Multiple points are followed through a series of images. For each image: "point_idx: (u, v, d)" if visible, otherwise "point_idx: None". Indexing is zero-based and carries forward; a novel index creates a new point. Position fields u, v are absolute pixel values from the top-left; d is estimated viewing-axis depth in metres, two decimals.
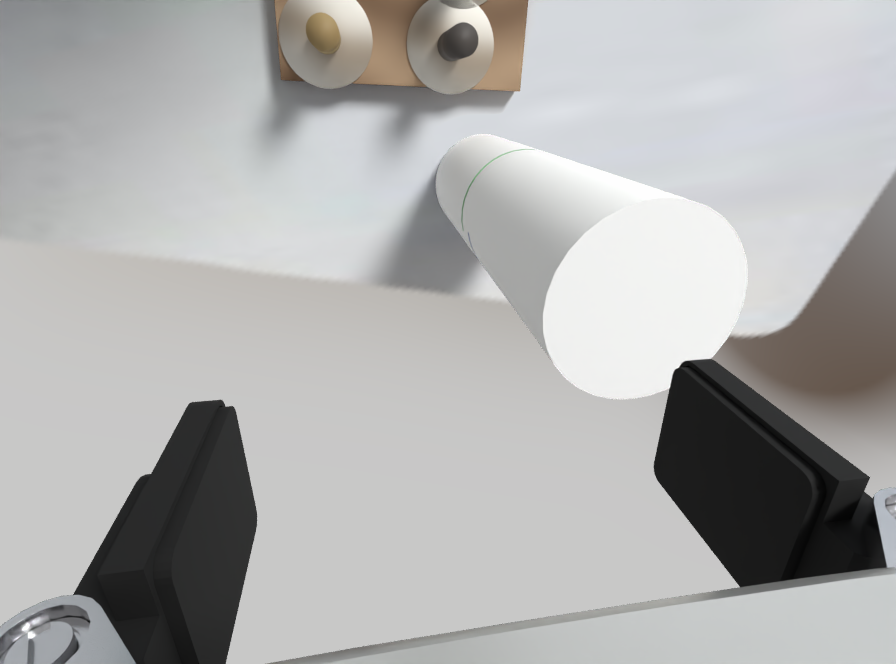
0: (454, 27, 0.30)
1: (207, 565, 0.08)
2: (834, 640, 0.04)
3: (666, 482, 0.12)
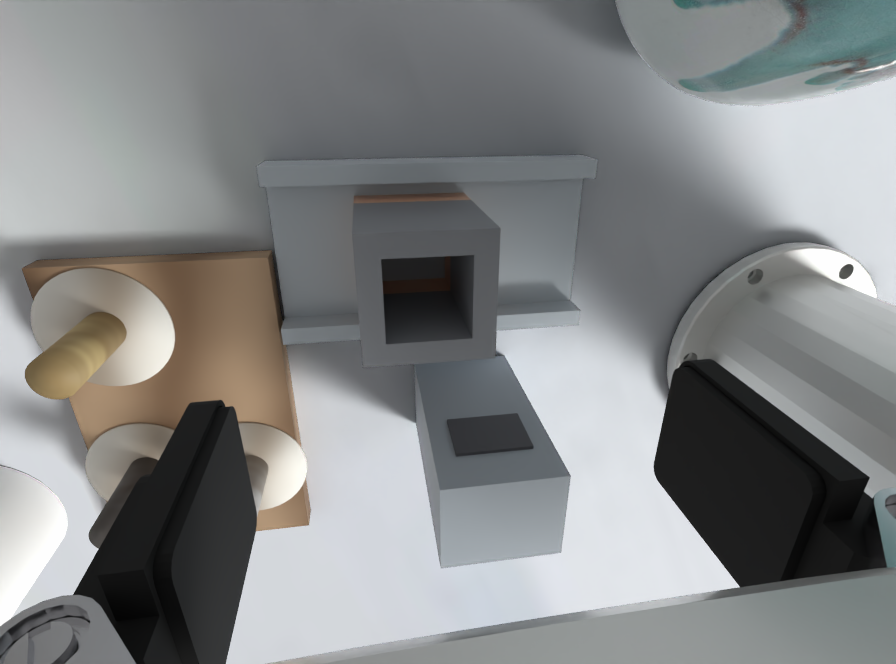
0: None
1: (207, 565, 0.08)
2: (834, 640, 0.04)
3: (666, 482, 0.12)
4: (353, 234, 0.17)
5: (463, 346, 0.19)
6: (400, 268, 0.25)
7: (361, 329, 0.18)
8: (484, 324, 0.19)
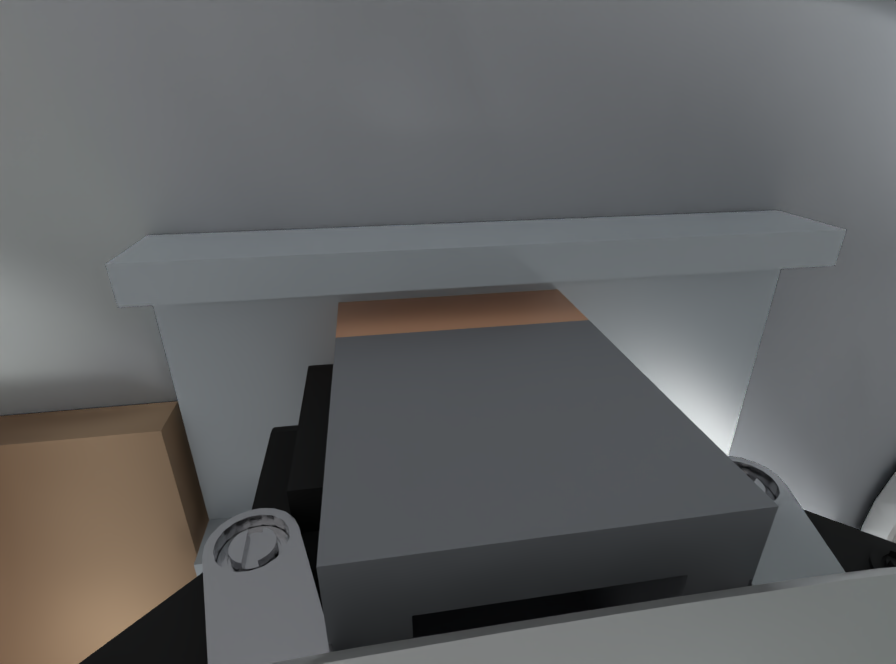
0: None
1: None
2: (833, 639, 0.04)
3: None
4: (321, 567, 0.05)
5: None
6: None
7: None
8: None
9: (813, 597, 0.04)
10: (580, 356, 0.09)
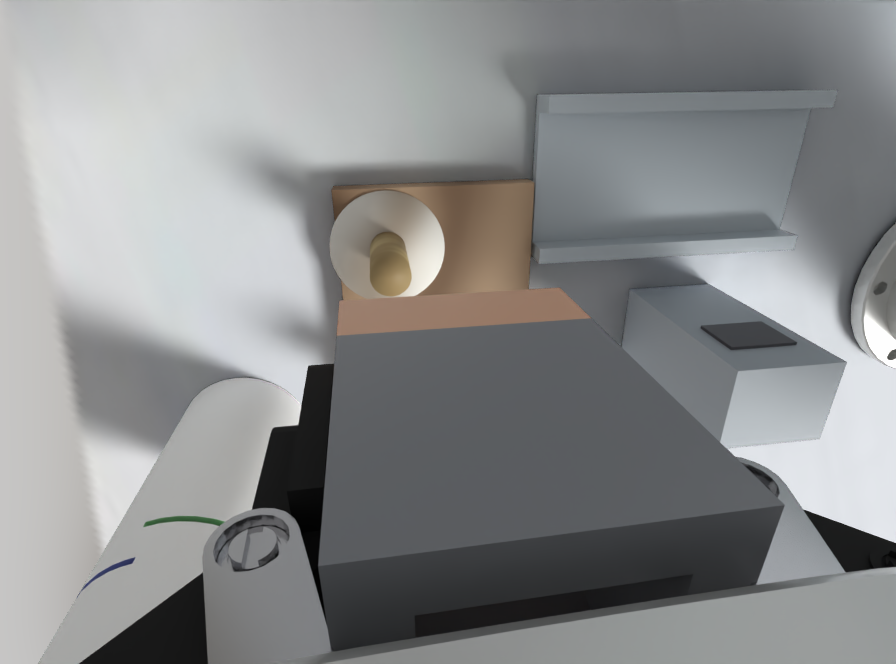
0: None
1: None
2: (833, 640, 0.04)
3: None
4: (323, 566, 0.05)
5: None
6: (638, 196, 0.27)
7: None
8: None
9: (813, 597, 0.04)
10: (583, 354, 0.09)
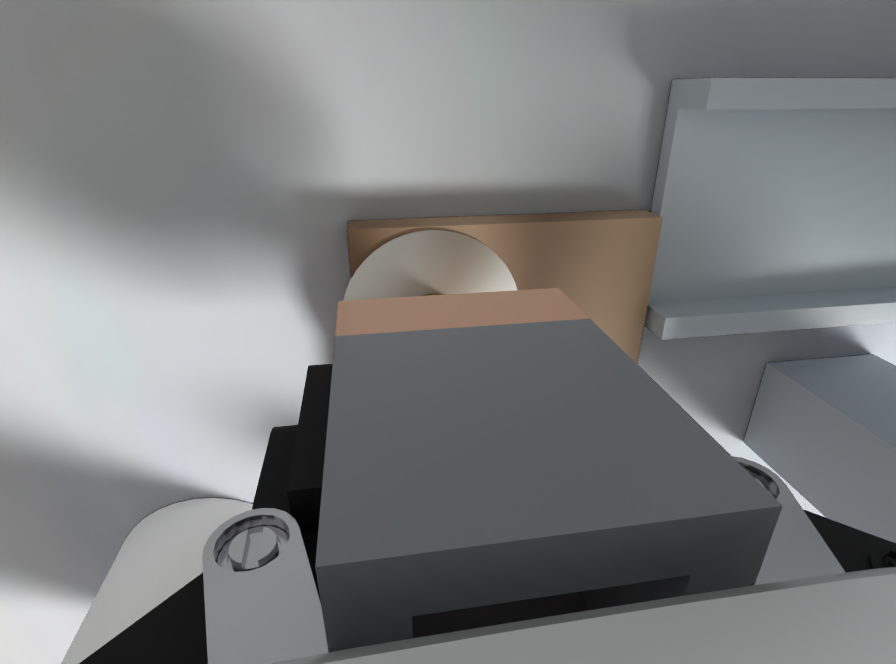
0: None
1: None
2: (832, 639, 0.04)
3: None
4: (320, 567, 0.05)
5: None
6: (804, 235, 0.18)
7: None
8: None
9: (813, 597, 0.04)
10: (581, 355, 0.09)
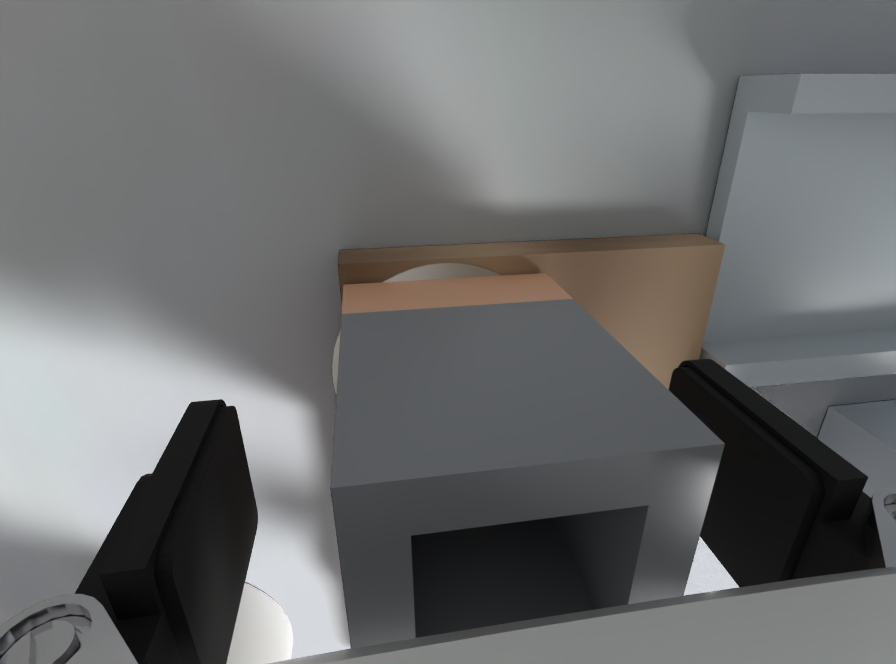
0: None
1: (208, 564, 0.08)
2: (832, 639, 0.04)
3: None
4: (334, 488, 0.06)
5: None
6: (885, 263, 0.15)
7: None
8: None
9: (813, 597, 0.04)
10: (563, 328, 0.10)
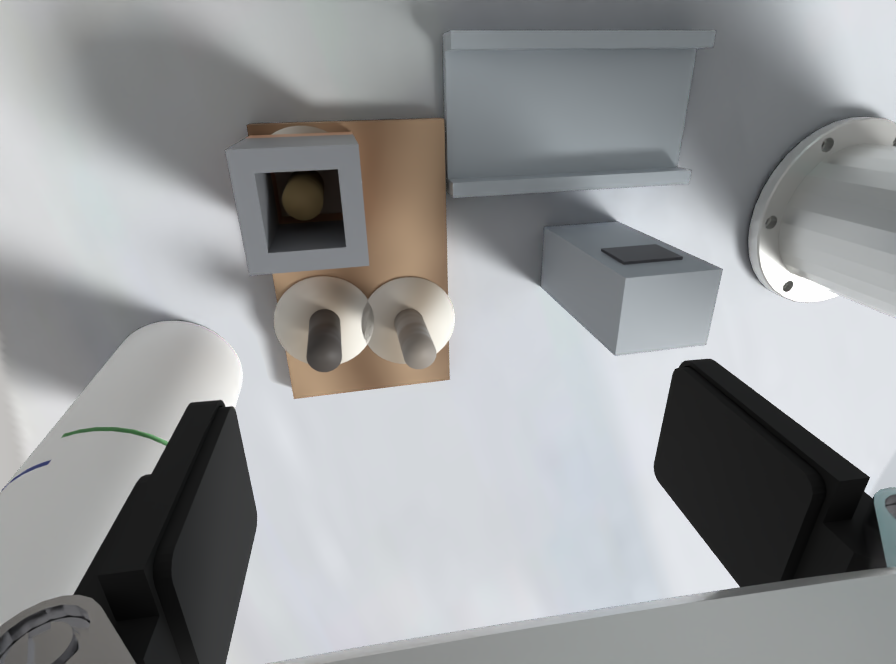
0: (335, 346, 0.27)
1: (207, 565, 0.08)
2: (832, 639, 0.04)
3: (666, 482, 0.12)
4: (226, 150, 0.20)
5: (339, 254, 0.22)
6: (544, 134, 0.29)
7: (243, 239, 0.21)
8: (355, 234, 0.22)
9: (813, 597, 0.04)
10: (336, 137, 0.24)
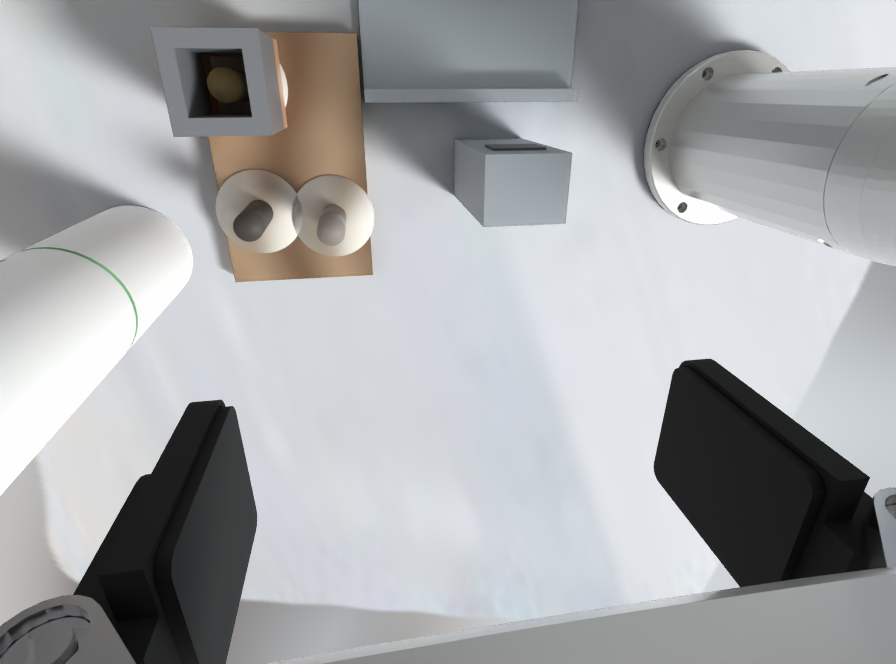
0: (257, 218, 0.32)
1: (207, 565, 0.08)
2: (832, 638, 0.04)
3: (666, 482, 0.12)
4: (151, 27, 0.25)
5: (246, 123, 0.27)
6: (447, 52, 0.34)
7: (167, 104, 0.26)
8: (259, 106, 0.27)
9: (813, 597, 0.04)
10: None
